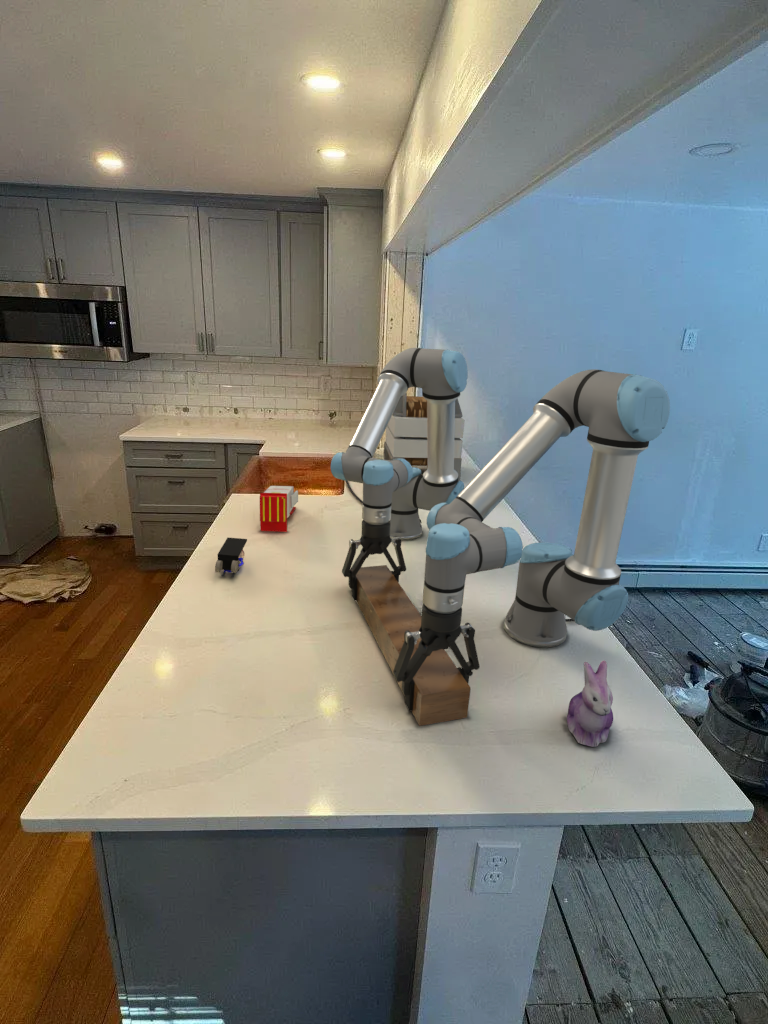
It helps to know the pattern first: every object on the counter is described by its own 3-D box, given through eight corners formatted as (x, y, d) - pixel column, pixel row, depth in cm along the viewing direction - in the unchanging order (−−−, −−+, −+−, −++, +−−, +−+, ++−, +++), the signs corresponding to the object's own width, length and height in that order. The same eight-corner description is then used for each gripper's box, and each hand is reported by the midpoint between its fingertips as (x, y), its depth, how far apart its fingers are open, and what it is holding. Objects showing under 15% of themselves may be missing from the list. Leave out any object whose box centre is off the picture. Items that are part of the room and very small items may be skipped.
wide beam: (351, 591, 158) (351, 567, 156) (385, 587, 161) (386, 564, 159) (419, 726, 108) (421, 695, 106) (467, 717, 111) (470, 687, 109)
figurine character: (238, 584, 162) (249, 557, 175) (236, 562, 158) (247, 536, 172) (215, 584, 161) (227, 556, 175) (212, 561, 158) (225, 535, 171)
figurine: (591, 756, 102) (606, 687, 97) (551, 721, 111) (563, 655, 106) (628, 741, 107) (644, 673, 101) (587, 708, 115) (599, 644, 110)
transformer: (382, 463, 289) (386, 382, 275) (445, 464, 293) (451, 384, 279) (390, 482, 257) (394, 392, 243) (460, 483, 261) (468, 394, 247)
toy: (300, 481, 221) (289, 494, 192) (300, 514, 224) (289, 533, 194) (268, 480, 221) (253, 493, 191) (269, 514, 223) (254, 532, 194)
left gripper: (336, 528, 141) (335, 607, 148) (422, 522, 147) (416, 598, 155) (330, 517, 147) (329, 593, 155) (412, 512, 154) (408, 586, 161)
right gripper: (390, 621, 100) (385, 724, 108) (505, 608, 106) (493, 705, 114) (379, 601, 107) (374, 699, 114) (487, 589, 113) (477, 682, 121)
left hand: (373, 596), depth 155 cm, fingers closed on wide beam, 10 cm apart
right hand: (433, 702), depth 114 cm, fingers closed on wide beam, 10 cm apart
